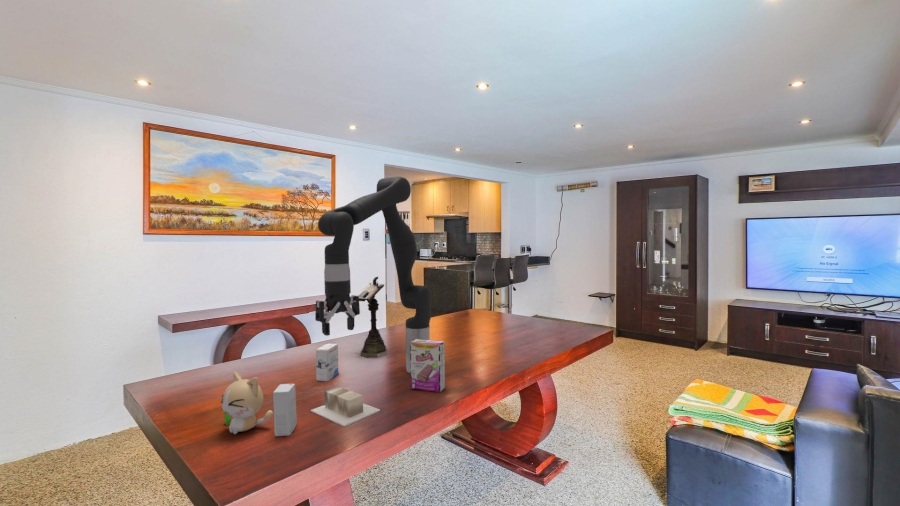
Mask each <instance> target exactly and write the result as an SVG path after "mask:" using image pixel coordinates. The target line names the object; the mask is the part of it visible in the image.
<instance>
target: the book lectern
mask: <svg viewBox="0 0 900 506" xmlns="http://www.w3.org/2000/svg"><path fill="white" fill-rule="evenodd" d="M378 279H379V276H374V277H373V279H372V282H368V283H367V284H366V285H365V286H364V288H363V289H362V290H361V291H359V293H357V295H356V294H355V296H358V297H359V302H365V301H367V303H368V304H367V306H368V307H367V308H368V311H370V320H369V321H370V330H369V331H368V335H367V337H366V339H365V341H363V346H362V349H361V350H360V356H361V357H364V358H373V359H374V358H380V357H384V356H387V354H388V348H387V346H386V344H385V340H384V339H383V337H382V336H381V334H380V330H379V329H378V328H377V320H378V319H377V311H378V310H379V305H380V304H379V301H378V300H377V298H375V297H376V295H377V294H378V293H379V292H380V291H381V290H382V289H383V288H384V286H385V283H384V284H383V283H379V281H377V280H378Z"/></svg>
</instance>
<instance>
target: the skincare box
mask: <svg viewBox="0 0 900 506" xmlns="http://www.w3.org/2000/svg"><path fill="white" fill-rule="evenodd" d="M272 399H273V400H272V401H273V403H272V404H273V424H274V425H273V426H274V428H273V429H274V430H273V431H274V436H275V437H283V436H287V437H288V436H291V435H292V433H293V431H294V430H295V429H296V427H297V425H298V424H297V401H296V399H297V397H296V384H295V383H280V384H279V385H278V386H277V387H276V389H274V391H273V392H272Z"/></svg>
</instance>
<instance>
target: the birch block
mask: <svg viewBox="0 0 900 506" xmlns="http://www.w3.org/2000/svg"><path fill="white" fill-rule="evenodd" d="M363 403H364V396H363V395H362V394H360V393H357V392H355V391H352V390H349V389H347V388H343V387H342V386H336V387H334V388H333V387H332V388H330V389H327V390H324V405H325V407H326V408H328V409H330V410H333V411H335V412H337V413H339V414H342V415H344V416H346V417H348V418H350V417H353V416H355V415H357V414H360V413H362V412H363Z"/></svg>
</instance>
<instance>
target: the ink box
mask: <svg viewBox="0 0 900 506" xmlns="http://www.w3.org/2000/svg"><path fill="white" fill-rule="evenodd" d="M315 365H316V366H315V367H316V368H315V371H316V372H315V380H316V381H320V382H329V381H330V380H332V379H333V378H334V377H336V376H338V374H339V344H338V343H326V344H323V345H321V346H320V347H318V348H317V349H315Z"/></svg>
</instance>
